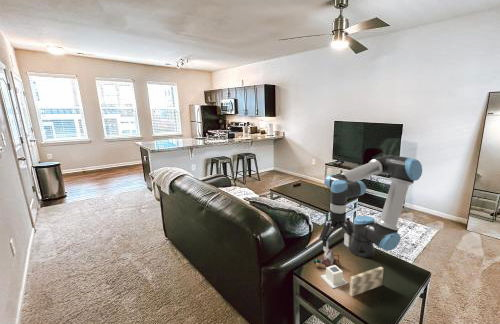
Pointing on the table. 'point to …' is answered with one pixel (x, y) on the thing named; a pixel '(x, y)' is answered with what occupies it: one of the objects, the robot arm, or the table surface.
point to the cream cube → (334, 274)
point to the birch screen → (366, 281)
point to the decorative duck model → (327, 259)
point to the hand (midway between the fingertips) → (336, 248)
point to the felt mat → (334, 284)
